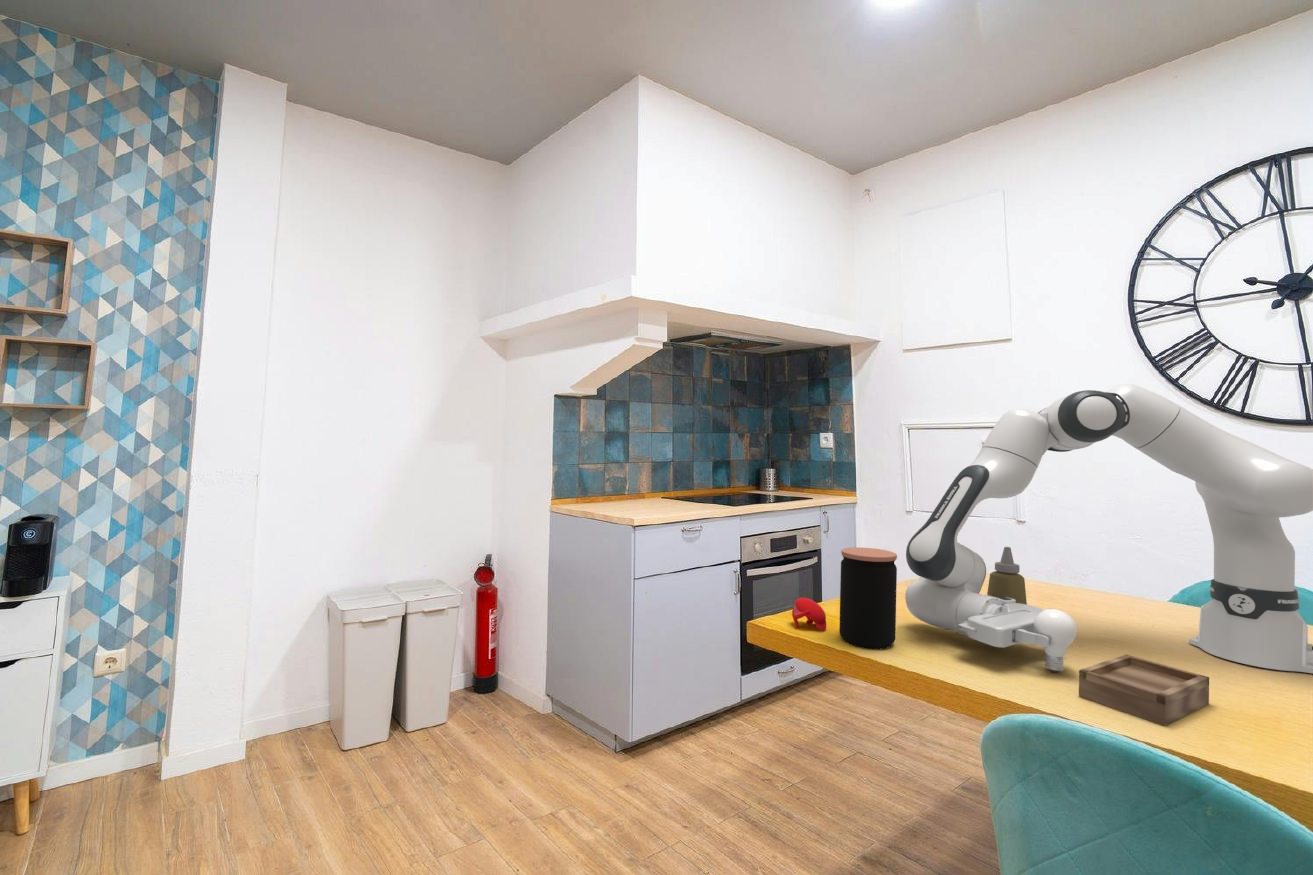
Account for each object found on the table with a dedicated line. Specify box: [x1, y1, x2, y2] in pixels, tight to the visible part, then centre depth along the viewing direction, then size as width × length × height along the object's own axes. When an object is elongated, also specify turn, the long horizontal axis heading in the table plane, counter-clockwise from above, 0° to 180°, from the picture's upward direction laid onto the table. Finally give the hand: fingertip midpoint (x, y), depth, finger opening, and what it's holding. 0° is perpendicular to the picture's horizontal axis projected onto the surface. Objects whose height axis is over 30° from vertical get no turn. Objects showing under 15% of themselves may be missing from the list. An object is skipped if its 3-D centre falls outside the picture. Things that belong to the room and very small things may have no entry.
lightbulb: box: [1034, 608, 1078, 673], centre depth 104 cm, size 6×6×11 cm
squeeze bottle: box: [986, 546, 1028, 605], centre depth 128 cm, size 8×8×18 cm
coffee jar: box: [838, 546, 898, 650], centre depth 118 cm, size 11×11×18 cm
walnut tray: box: [1078, 654, 1210, 727], centre depth 93 cm, size 16×11×4 cm
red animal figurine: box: [791, 597, 827, 633], centre depth 126 cm, size 8×6×6 cm
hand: (1060, 638), depth 103 cm, fingers closed on lightbulb, 6 cm apart
